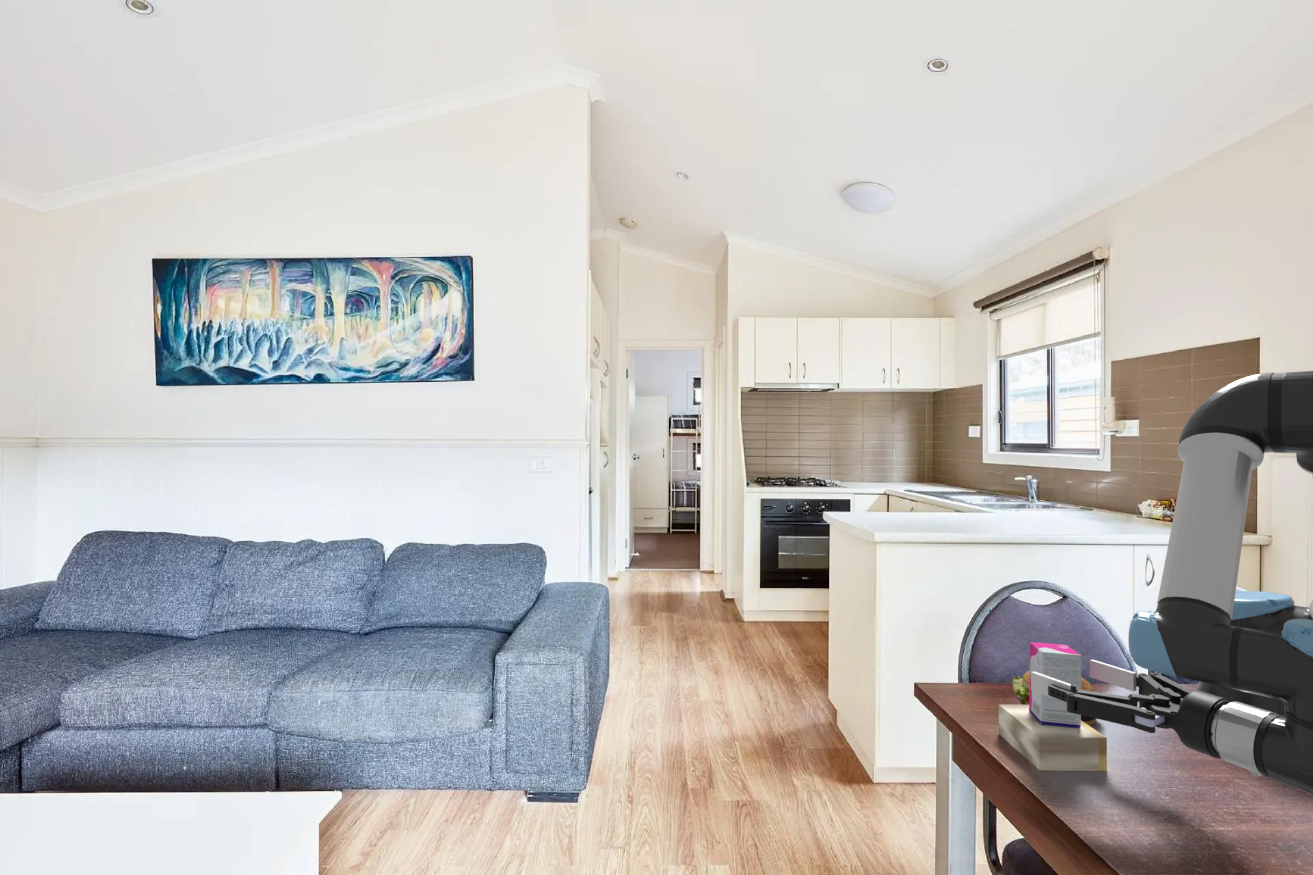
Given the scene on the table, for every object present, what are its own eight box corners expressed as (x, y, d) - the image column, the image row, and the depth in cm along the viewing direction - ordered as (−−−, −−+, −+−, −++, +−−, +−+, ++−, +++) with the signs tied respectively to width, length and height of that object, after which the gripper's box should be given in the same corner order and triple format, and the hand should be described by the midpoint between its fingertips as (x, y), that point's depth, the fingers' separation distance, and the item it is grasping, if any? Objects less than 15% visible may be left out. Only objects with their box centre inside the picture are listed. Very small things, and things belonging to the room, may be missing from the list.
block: (1106, 770, 97) (1106, 737, 97) (1039, 770, 97) (1039, 737, 97) (1058, 734, 109) (1058, 704, 109) (998, 734, 109) (998, 704, 109)
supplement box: (1082, 729, 100) (1082, 654, 100) (1040, 725, 101) (1040, 652, 101) (1067, 713, 105) (1067, 643, 105) (1027, 710, 107) (1027, 640, 107)
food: (1021, 693, 127) (1021, 652, 127) (1107, 714, 117) (1107, 670, 117) (999, 714, 117) (999, 670, 117) (1091, 739, 107) (1091, 691, 107)
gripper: (1167, 780, 76) (1006, 711, 96) (1280, 741, 86) (1113, 686, 106) (1166, 716, 76) (1006, 660, 96) (1280, 685, 86) (1113, 640, 106)
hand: (1062, 674), depth 101 cm, fingers open, 13 cm apart
